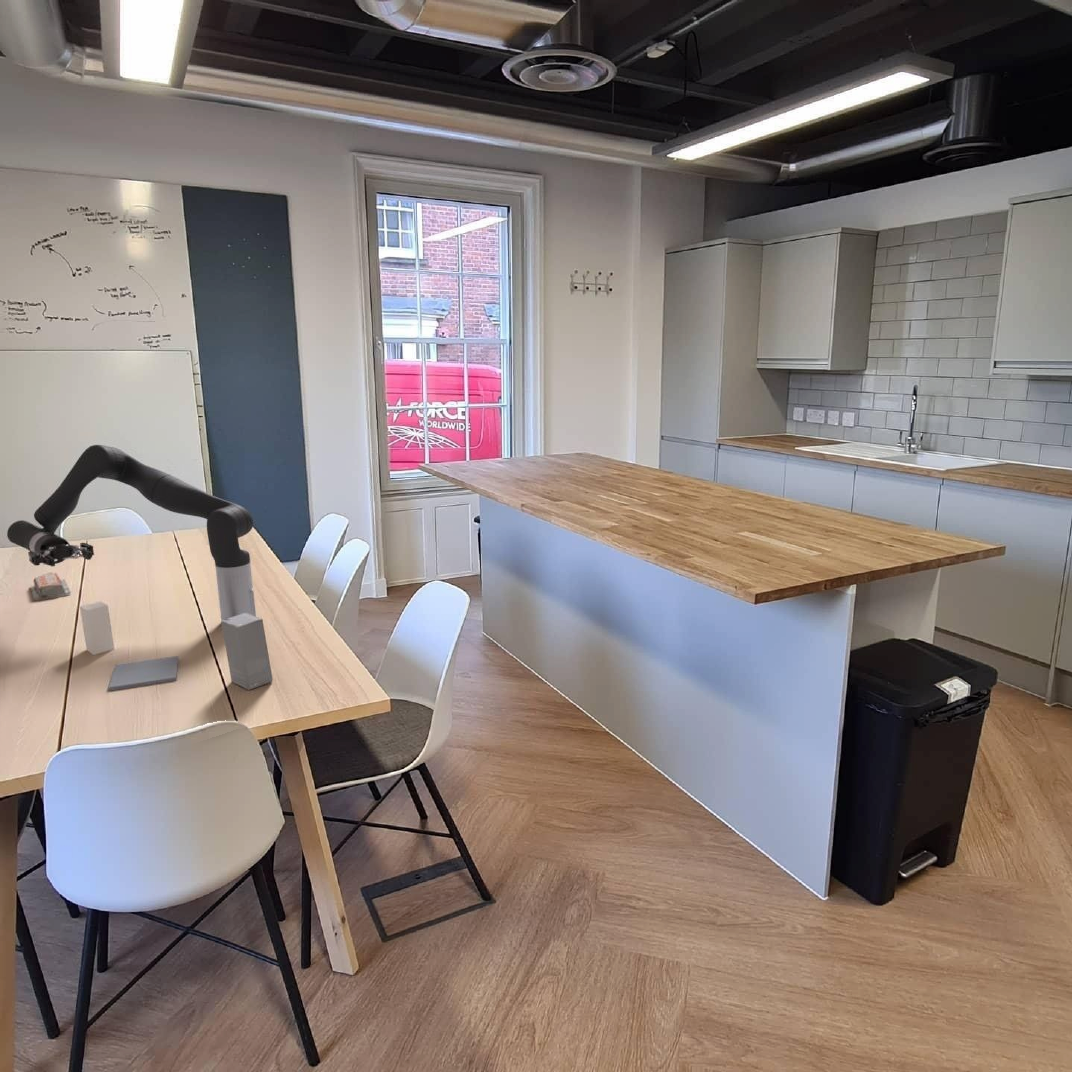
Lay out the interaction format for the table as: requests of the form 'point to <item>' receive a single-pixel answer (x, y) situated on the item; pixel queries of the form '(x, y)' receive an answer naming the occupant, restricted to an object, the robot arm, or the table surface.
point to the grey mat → (144, 673)
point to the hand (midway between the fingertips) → (71, 559)
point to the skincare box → (247, 650)
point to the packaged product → (49, 587)
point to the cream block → (97, 627)
